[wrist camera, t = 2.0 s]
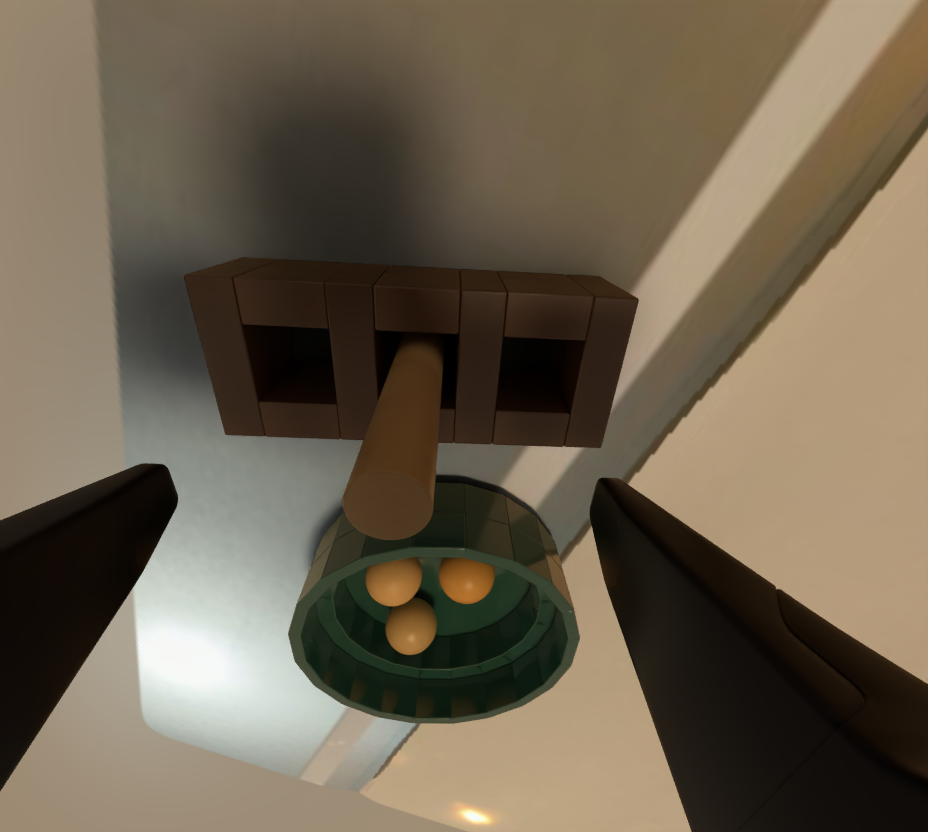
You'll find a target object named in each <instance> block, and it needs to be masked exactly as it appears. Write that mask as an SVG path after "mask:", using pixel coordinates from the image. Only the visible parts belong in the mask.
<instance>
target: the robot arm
mask: <svg viewBox="0 0 928 832" xmlns="http://www.w3.org/2000/svg"><path fill="white" fill-rule="evenodd" d="M177 504H178V495H177V492H176V489H175V486H174V483H173V480H172V478H171V475H170V472H169V470H168V468H167V467H166V466H165V465H163V464H148V463H144V464H139V465H136V466H134V467H131V468H129V469H126V470H124V471H121V472H119V473H117V474H114V475H112V476H109V477H107V478H104V479H102V480H99V481H97V482H94V483H92V484H89V485H87V486H84V487H82V488H79V489H77V490H75V491H72V492H70V493H67V494H65V495H62V496H60V497H57V498H55V499H52V500H50V501H47V502H45V503H42V504H40V505H37V506H35V507H32V508H30V509H28V510H25V511H23V512H20V513H18V514H15V515H13V516H10V517H8V518H5V519H3V520H0V791H1V789H2V788H3V786H4V785H5V783H6V782H7V780H8V779H9V777H10V775H11V774H12V773H13V771H14V769H15V768H16V766H17V765H18V763H19V762H20V760H21V759H22V757H23V756H24V754H25V753H26V751H27V749H28V748H29V746H30V745H31V743H32V742H33V740H34V739H35V737H36V736H37V734H38V733H39V731H40V730H41V728H42V726H43V725H44V723H45V722H46V720H47V719H48V717H49V716H50V714H51V713H52V711H53V710H54V708H55V706H56V705H57V703H58V702H59V700H60V699H61V697H62V696H63V694H64V693H65V691H66V690H67V688H68V687H69V685H70V683H71V682H72V680H73V679H74V677H75V676H76V674H77V673H78V671H79V670H80V668H81V667H82V665H83V664H84V662H85V661H86V659H87V657H88V656H89V654H90V653H91V651H92V650H93V648H94V646H95V645H96V643H97V642H98V641H99V639H100V638H101V636H102V634H103V633H104V631H105V630H106V628H107V627H108V625H109V624H110V622H111V621H112V619H113V618H114V616H115V615H116V613H117V611H118V610H119V608H120V607H121V605H122V604H123V602H124V600H125V599H126V598H127V596H128V595H129V593H130V591H131V590H132V588H133V587H134V585H135V584H136V582H137V580H138V579H139V577H140V576H141V574H142V572H143V570H144V569H145V567H146V565H147V563H148V561H149V559H150V557H151V556H152V554H153V552H154V550H155V548H156V546H157V544H158V542H159V540H160V538H161V536H162V534H163V532H164V530H165V529H166V527H167V525H168V523H169V521H170V519H171V517H172V515H173V513H174V511H175V509H176V507H177ZM590 520H591V524H592V528H593V533H594V537H595V542H596V546H597V551H598V555H599V559H600V564H601V568H602V572H603V576H604V580H605V584H606V587H607V590H608V593H609V596H610V599H611V602H612V605H613V608H614V611H615V613H616V616H617V619H618V622H619V625H620V628H621V631H622V633H623V636H624V639H625V642H626V645H627V648H628V651H629V653H630V656H631V659H632V662H633V665H634V668H635V671H636V674H637V676H638V679H639V682H640V685H641V688H642V691H643V694H644V696H645V699H646V702H647V705H648V708H649V711H650V714H651V717H652V719H653V722H654V725H655V728H656V731H657V734H658V737H659V739H660V742H661V745H662V748H663V751H664V754H665V757H666V759H667V762H668V765H669V768H670V771H671V774H672V777H673V780H674V782H675V785H676V788H677V791H678V794H679V797H680V800H681V802H682V805H683V808H684V811H685V814H686V817H687V820H688V822H689V825H690V828H691V831H692V832H928V684H927V683H925V682H924V681H922V680H920V679H919V678H917V677H915V676H914V675H912V674H911V673H909V672H907V671H906V670H904V669H902V668H901V667H899V666H898V665H896V664H894V663H893V662H891V661H889V660H888V659H886V658H885V657H883V656H881V655H880V654H878V653H876V652H875V651H873V650H872V649H870V648H869V647H867V646H865V645H864V644H862V643H861V642H859V641H857V640H856V639H854V638H853V637H851V636H849V635H848V634H846V633H845V632H843V631H842V630H840V629H838V628H837V627H835V626H834V625H832V624H831V623H829V622H828V621H826V620H825V619H823V618H822V617H820V616H819V615H817V614H816V613H814V612H813V611H811V610H810V609H808V608H807V607H805V606H804V605H802V604H801V603H799V602H798V601H797V600H795V599H794V598H792V597H791V596H789V595H788V594H786V593H785V592H784V591H782V590H780V589H777V590H776V587H775V586H774V585H773V584H772V583H770V582H769V581H767V580H766V579H764V578H763V577H761V576H760V575H759V574H757V573H756V572H754V571H753V570H751V569H750V568H748V567H747V566H745V565H744V564H743V563H741V562H740V561H738V560H737V559H735V558H734V557H732V556H731V555H729V554H728V553H727V552H725V551H724V550H722V549H721V548H719V547H718V546H716V545H715V544H713V543H712V542H711V541H709V540H708V539H706V538H705V537H703V536H702V535H700V534H699V533H697V532H696V531H695V530H693V529H692V528H690V527H689V526H687V525H686V524H684V523H683V522H681V521H680V520H679V519H677V518H676V517H674V516H673V515H671V514H670V513H668V512H667V511H665V510H664V509H662V508H661V507H660V506H658V505H657V504H655V503H654V502H652V501H651V500H649V499H648V498H646V497H645V496H644V495H642V494H641V493H639V492H638V491H636V490H635V489H633V488H632V487H630V486H629V485H628V484H626V483H625V482H623V481H622V480H620V479H618V478H600V479H599V480H598V481H597V483H596V487H595V490H594V494H593V498H592V502H591V506H590Z"/></svg>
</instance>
